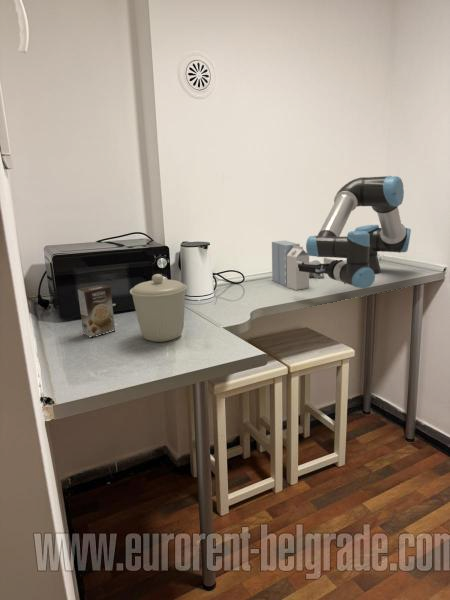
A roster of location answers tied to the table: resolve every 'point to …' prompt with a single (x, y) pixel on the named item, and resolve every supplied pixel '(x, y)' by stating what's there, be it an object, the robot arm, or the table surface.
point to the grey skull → (315, 273)
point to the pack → (280, 260)
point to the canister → (160, 308)
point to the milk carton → (297, 269)
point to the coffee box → (96, 310)
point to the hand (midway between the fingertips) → (310, 262)
